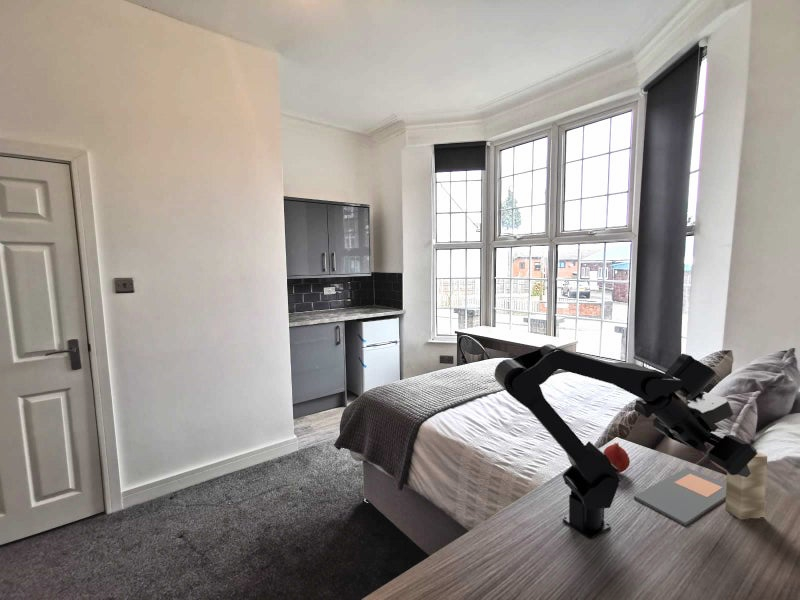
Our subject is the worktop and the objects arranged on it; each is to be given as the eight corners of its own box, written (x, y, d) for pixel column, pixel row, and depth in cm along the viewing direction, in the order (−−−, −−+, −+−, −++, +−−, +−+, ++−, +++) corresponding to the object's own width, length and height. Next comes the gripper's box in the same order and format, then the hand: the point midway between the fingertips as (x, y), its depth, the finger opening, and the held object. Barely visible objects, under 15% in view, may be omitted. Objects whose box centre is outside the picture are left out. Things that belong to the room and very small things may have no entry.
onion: (597, 470, 93) (597, 440, 92) (612, 464, 96) (612, 434, 95) (619, 482, 88) (619, 450, 87) (634, 475, 90) (635, 444, 90)
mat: (685, 525, 73) (685, 522, 73) (633, 498, 82) (633, 495, 82) (738, 490, 83) (738, 487, 83) (687, 469, 92) (687, 467, 92)
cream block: (740, 519, 74) (743, 457, 73) (725, 509, 77) (728, 449, 76) (763, 517, 74) (767, 456, 73) (748, 507, 78) (751, 448, 76)
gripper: (749, 400, 64) (807, 457, 65) (666, 369, 82) (713, 414, 84) (703, 447, 64) (761, 502, 65) (631, 406, 83) (678, 450, 84)
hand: (725, 462), depth 75 cm, fingers open, 9 cm apart
